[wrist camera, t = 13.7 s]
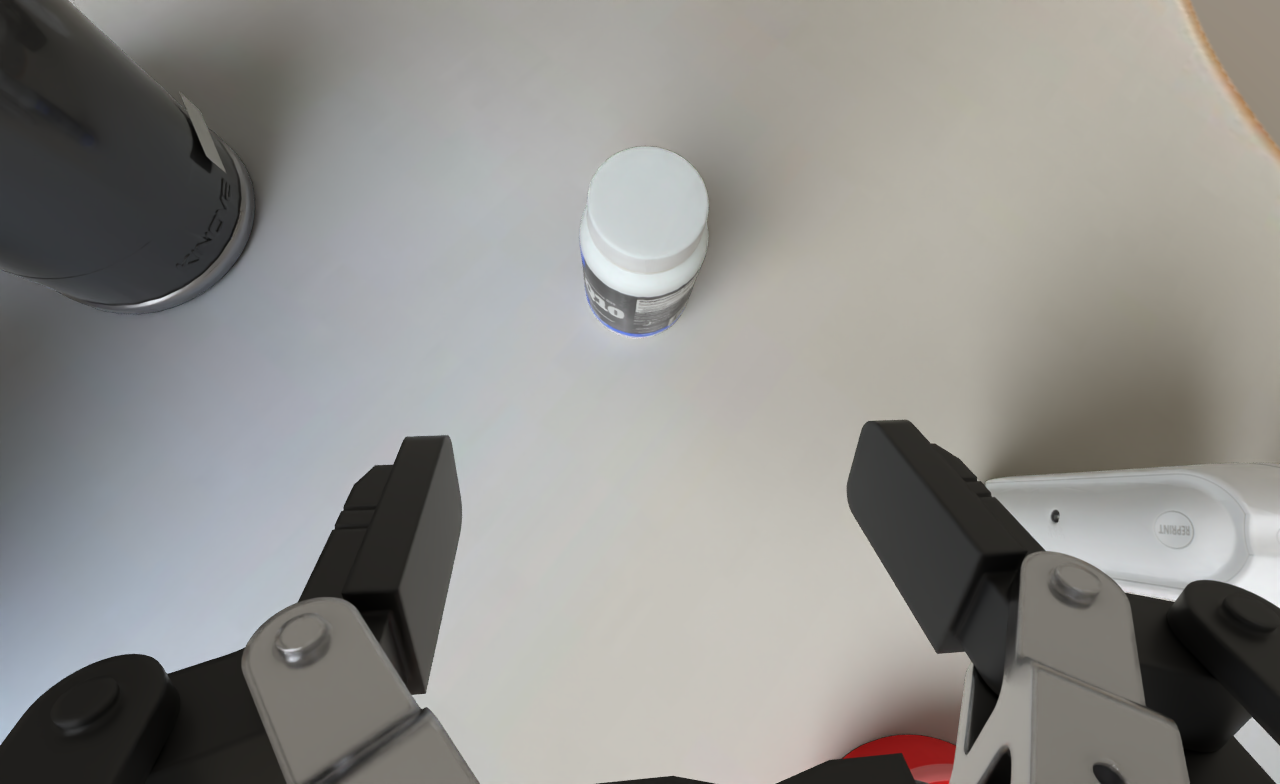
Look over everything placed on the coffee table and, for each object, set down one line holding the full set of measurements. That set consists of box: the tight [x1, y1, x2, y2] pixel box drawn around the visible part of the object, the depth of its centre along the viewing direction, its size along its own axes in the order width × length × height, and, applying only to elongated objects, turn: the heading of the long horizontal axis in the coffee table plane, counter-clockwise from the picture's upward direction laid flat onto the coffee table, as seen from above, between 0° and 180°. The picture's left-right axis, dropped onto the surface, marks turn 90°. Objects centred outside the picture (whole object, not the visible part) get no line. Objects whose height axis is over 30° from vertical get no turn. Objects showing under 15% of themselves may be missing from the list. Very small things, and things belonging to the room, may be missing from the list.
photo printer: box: [985, 463, 1280, 608], centre depth 20 cm, size 10×4×12 cm, turn 84°
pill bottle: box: [579, 146, 709, 338], centre depth 23 cm, size 5×5×8 cm
